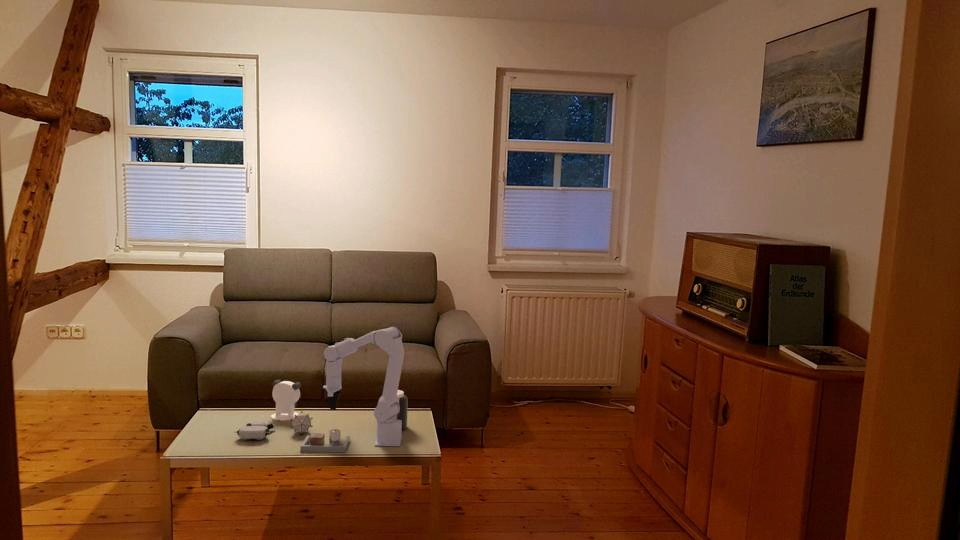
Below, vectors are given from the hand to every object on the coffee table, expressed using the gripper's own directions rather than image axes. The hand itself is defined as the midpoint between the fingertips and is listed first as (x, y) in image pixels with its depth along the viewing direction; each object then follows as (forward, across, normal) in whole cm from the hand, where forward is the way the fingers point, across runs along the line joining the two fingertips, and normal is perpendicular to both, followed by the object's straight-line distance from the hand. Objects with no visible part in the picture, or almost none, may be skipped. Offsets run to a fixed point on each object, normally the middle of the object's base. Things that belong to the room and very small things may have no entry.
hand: (333, 409), depth 240 cm
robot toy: (+10, +5, -28) cm, 30 cm away
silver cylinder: (+9, +15, +3) cm, 18 cm away
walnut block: (+10, +15, -3) cm, 18 cm away
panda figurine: (+10, -18, -23) cm, 31 cm away
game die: (+10, +1, -12) cm, 15 cm away
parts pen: (+9, +14, 0) cm, 17 cm away
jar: (+10, -6, +23) cm, 26 cm away
